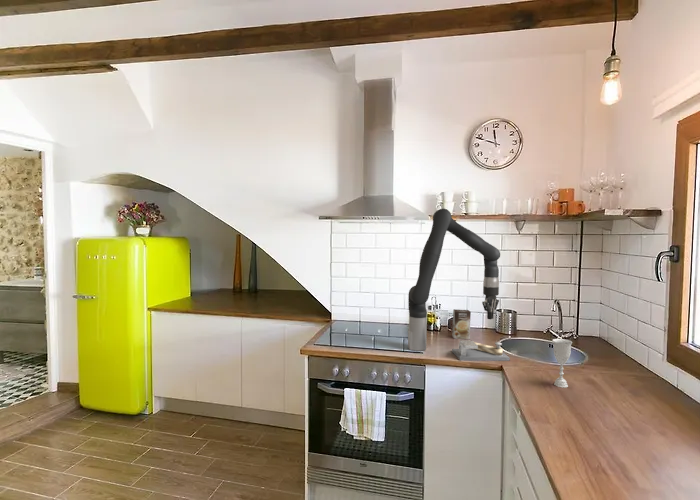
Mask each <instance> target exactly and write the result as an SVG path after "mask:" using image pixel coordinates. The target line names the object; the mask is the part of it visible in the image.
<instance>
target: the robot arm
mask: <svg viewBox="0 0 700 500" xmlns="http://www.w3.org/2000/svg"><path fill="white" fill-rule="evenodd" d="M447 232H448V233H450V234H452V235H454V236H455V237H456V238H458V239H460V241H462V242H463V243H464V244H466V245H467V246H468V247H469V248H471V249H472V250H473V251H476V252H478V253H479V254H481V255H482V256H483V263H484V268H483V269H484V271H483V272H484V274H483V289H482V290H483V292H482V293H483V295H484V296H485V297H484V301H482V302H481V303H482V306H483V310H484V311H486V313H487V315H486V316H487V320H493V319H494V312H495V311H497V307H498V304H499V302H500V300H499V299H497V296H499V292H500V278H499V277H500V276H499V273H500V271H499V269H500V268H499V266H498V260H499V259H500V258H501V251H500V250H499V249H498V248H497V247H495V245H493V244H491V243H489V242H487V241H485V240H484V239H483V237H481V236H480V235H478V234H476V233H475V232H473V231H472V230H470V229H468V228H466V227H465V226H463V225H462V224H459V223H458V222H457V221H456V220H455V219H453V218H452V213H451V211H449V209H446V208H439V209H438V210H436V211H435V212H434V213H433V215H432V227H431V231H430V234H429V236H428V238H427V241H426V242H425V244H424V247H423V249H422V253H421V257H420V261H419V268H418V277H417V281H416V283H415V285H413V286H412V287H410V288H409V290H408V297H407V299H408V302H407V303H408V315H409V316H408V318H409V319H408V331H407V347H408V349H409V350H410V351H414V352H415V351H416V352H423V351H426V350H427V341H428V340H427V327H428V325H427V324H428V311H427V307H426V306H427V304H426V303H427V301H428V300H429V297H430V291H431V287H432V281H433V278H434V276H435V274H436V273H435V272H436V270H437V267H438V265H439V261H440V257H441V255H442V251H443V245H444V242H445V241H444V239H445V237H446V234H447Z"/></svg>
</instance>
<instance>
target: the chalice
mask: <svg viewBox="0 0 700 500" xmlns="http://www.w3.org/2000/svg"><path fill="white" fill-rule="evenodd" d="M552 342H553V356H554V358H555V360H556V363H558V364H559V377H558V378H556V379H555V381H554V384H553V385H554V386H556V387H558V388H568V387H569V385H568V383H567V380H566V379H565V378H564V377H563V376H564V374H565V373H564V372H563V371H564V365H565V364H567V362H568V360H569V359H570V357H571V352H572V351H571V349H572V348H571V347H572V344H573V341H572V340H569V339H563V338H553V339H552Z"/></svg>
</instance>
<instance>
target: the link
mask: <svg viewBox="0 0 700 500" xmlns="http://www.w3.org/2000/svg"><path fill="white" fill-rule="evenodd" d="M473 342H474V343H475V344H476V345H478V349H477V350H481V351H485V352H489V353H493V354H495V355H503V353H504V352H503V348H501V347H500V349H497V346H496V347H495V346H493V345H489V344H488V345H487V344H484V343H480V342H475V341H473Z"/></svg>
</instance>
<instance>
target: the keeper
mask: <svg viewBox="0 0 700 500" xmlns="http://www.w3.org/2000/svg"><path fill="white" fill-rule="evenodd" d="M474 342H475V341H473V340H470V339H460V340H459V343H458V349H459V354H460V355H461V356H466V349H478V345H476V344H475V343H474Z"/></svg>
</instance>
